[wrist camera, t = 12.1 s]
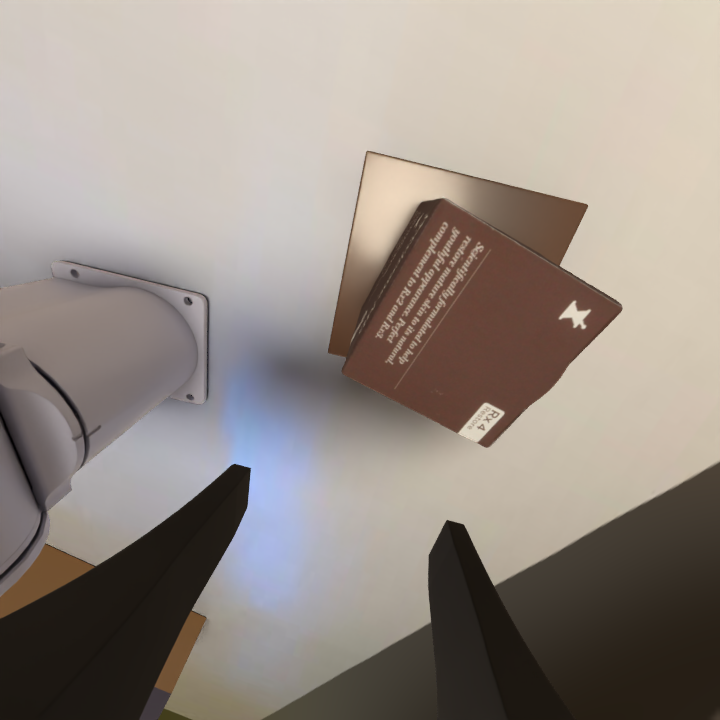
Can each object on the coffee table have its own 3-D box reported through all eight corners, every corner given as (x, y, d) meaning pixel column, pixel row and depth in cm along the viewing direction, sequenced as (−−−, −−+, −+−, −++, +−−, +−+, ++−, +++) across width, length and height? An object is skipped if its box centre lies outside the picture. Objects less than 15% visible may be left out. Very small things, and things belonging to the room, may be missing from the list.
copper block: (333, 340, 20) (327, 353, 18) (369, 156, 16) (366, 150, 14) (488, 378, 20) (497, 395, 18) (567, 205, 16) (589, 204, 14)
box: (422, 197, 14) (444, 186, 8) (530, 264, 15) (635, 306, 9) (358, 310, 17) (334, 375, 10) (454, 363, 18) (488, 455, 11)
